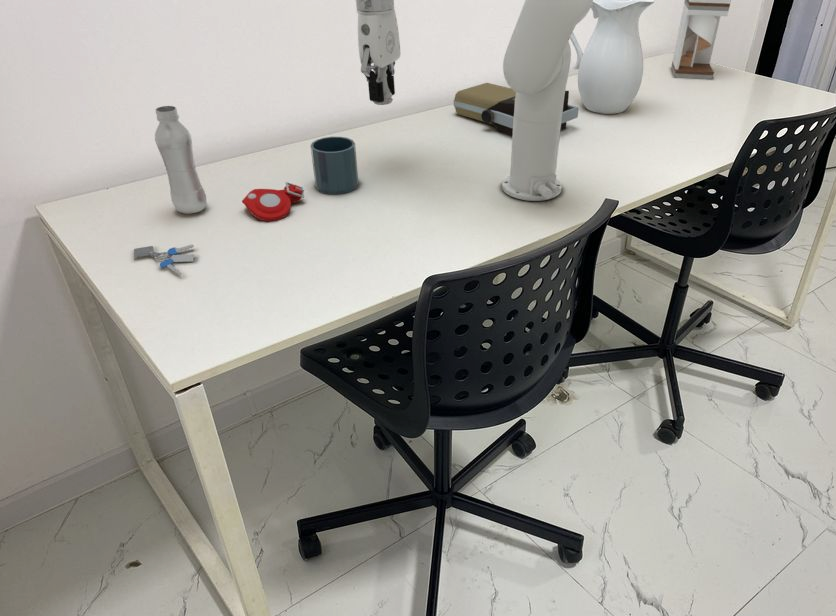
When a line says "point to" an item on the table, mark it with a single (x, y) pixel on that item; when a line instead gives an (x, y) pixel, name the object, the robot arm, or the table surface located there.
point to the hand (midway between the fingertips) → (382, 96)
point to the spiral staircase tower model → (697, 38)
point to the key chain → (166, 263)
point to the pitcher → (611, 57)
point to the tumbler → (334, 165)
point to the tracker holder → (272, 201)
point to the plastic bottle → (179, 161)
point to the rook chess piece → (384, 88)
